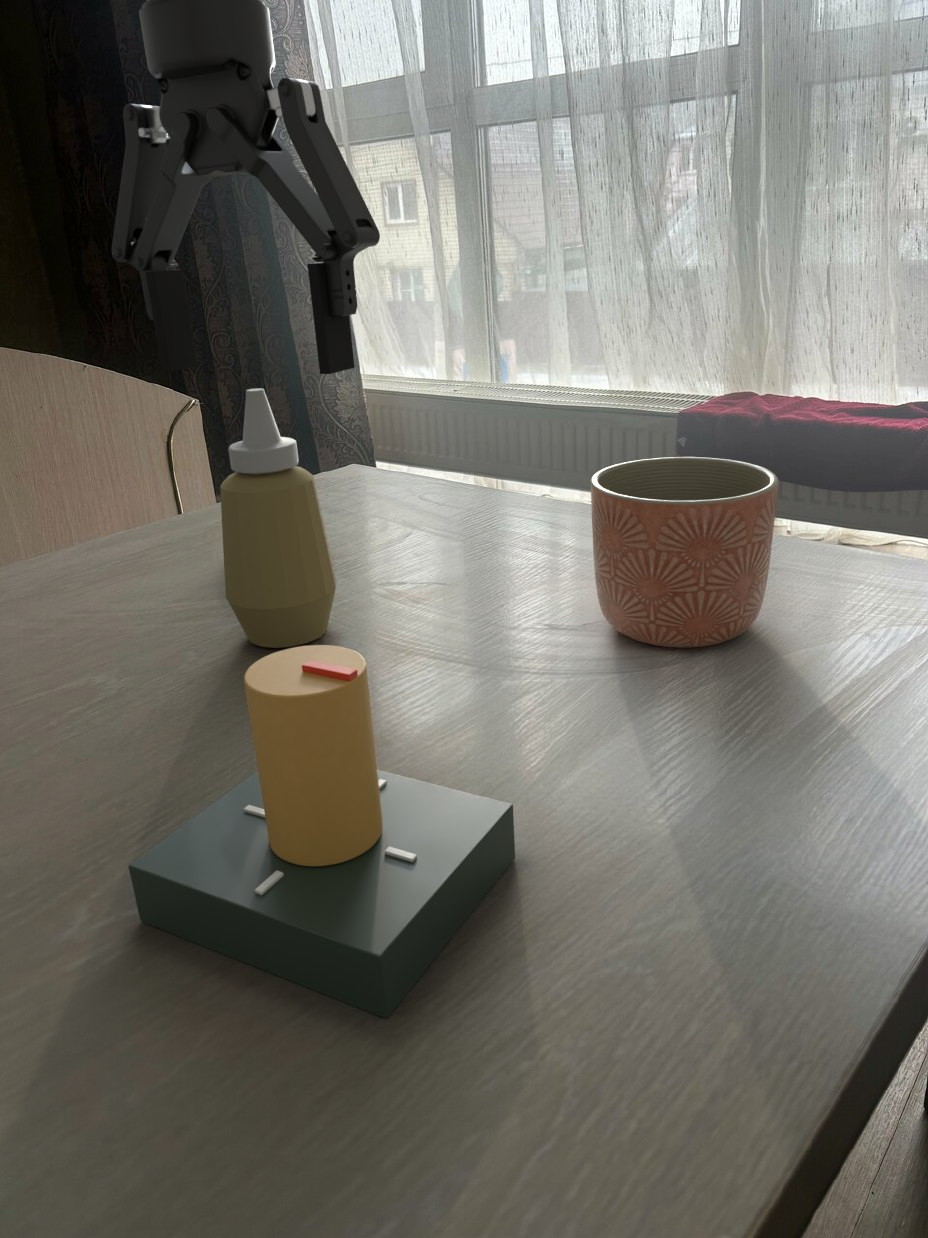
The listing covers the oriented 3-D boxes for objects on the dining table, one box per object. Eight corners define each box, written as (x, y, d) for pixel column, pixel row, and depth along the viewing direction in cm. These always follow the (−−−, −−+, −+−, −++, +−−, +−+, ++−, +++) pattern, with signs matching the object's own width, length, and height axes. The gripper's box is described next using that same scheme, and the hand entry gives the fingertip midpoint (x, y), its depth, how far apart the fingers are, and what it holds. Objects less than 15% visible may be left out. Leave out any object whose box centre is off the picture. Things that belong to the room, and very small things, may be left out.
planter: (558, 618, 72) (555, 474, 68) (689, 584, 77) (694, 448, 73) (663, 678, 62) (667, 513, 58) (806, 634, 67) (820, 480, 63)
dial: (245, 849, 42) (216, 676, 39) (315, 791, 46) (294, 630, 43) (339, 880, 40) (316, 698, 36) (404, 816, 44) (388, 648, 40)
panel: (140, 921, 43) (126, 862, 41) (295, 796, 51) (288, 744, 50) (387, 1020, 36) (379, 953, 35) (515, 858, 45) (513, 801, 44)
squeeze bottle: (237, 664, 67) (195, 404, 61) (229, 624, 75) (192, 387, 68) (351, 646, 69) (323, 391, 63) (333, 608, 77) (306, 376, 70)
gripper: (417, -28, 54) (443, 362, 62) (104, 39, 66) (161, 360, 74) (338, -55, 48) (379, 381, 56) (9, 24, 60) (82, 375, 68)
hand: (255, 370), depth 65 cm, fingers open, 13 cm apart
